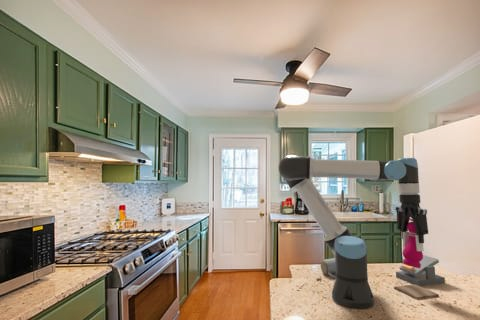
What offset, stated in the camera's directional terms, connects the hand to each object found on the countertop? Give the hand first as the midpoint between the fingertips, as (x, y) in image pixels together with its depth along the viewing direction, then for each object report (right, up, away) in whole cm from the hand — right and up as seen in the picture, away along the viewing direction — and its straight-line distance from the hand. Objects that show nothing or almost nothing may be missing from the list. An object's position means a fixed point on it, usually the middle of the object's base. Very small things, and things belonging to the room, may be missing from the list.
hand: (413, 248), depth 112 cm
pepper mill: (-1, -7, -1) cm, 7 cm away
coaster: (0, -18, -2) cm, 18 cm away
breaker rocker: (+12, -13, +13) cm, 22 cm away
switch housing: (+11, -19, +12) cm, 25 cm away
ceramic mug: (-27, -20, +20) cm, 39 cm away
